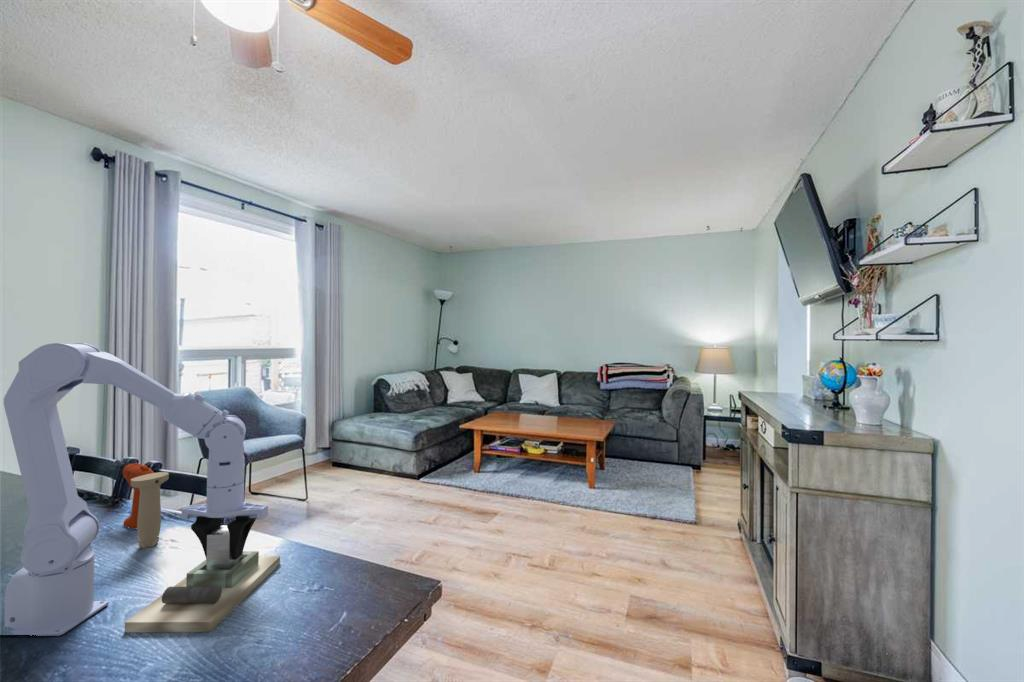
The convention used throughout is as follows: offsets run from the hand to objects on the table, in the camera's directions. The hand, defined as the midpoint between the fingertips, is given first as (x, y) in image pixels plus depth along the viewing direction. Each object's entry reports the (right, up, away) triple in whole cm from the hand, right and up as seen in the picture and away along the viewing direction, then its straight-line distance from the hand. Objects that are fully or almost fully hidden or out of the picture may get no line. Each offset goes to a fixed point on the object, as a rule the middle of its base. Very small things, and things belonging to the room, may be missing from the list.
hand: (224, 557), depth 77 cm
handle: (-26, -5, +14) cm, 30 cm away
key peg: (0, -2, 0) cm, 2 cm away
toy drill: (-42, -5, +27) cm, 50 cm away
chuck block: (0, -5, -3) cm, 6 cm away
